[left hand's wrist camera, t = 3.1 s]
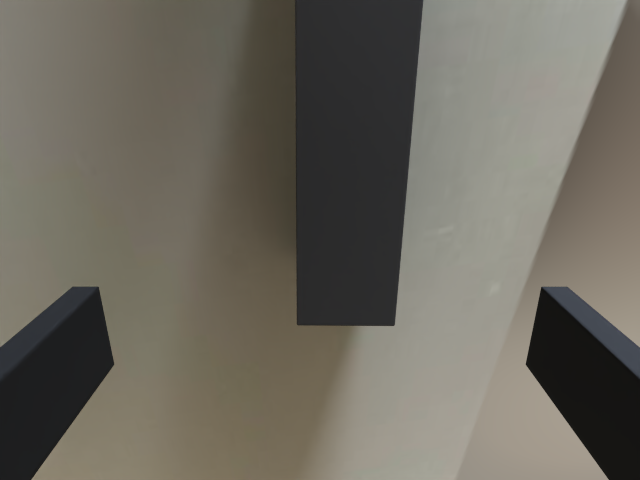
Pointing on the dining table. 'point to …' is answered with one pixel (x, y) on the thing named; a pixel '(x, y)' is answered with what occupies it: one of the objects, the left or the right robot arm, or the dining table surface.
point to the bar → (352, 155)
